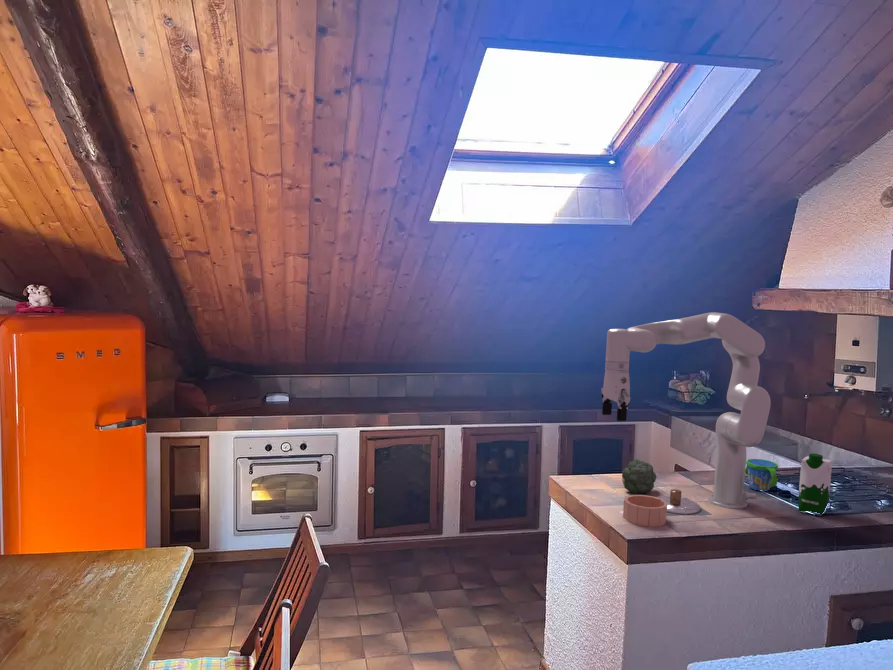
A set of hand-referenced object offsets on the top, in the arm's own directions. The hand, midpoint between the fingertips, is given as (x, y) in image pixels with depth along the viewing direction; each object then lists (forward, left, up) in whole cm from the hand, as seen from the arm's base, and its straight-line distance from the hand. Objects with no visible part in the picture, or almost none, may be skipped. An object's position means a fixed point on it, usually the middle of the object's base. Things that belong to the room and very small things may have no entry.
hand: (613, 417), depth 232 cm
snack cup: (-65, -15, -30) cm, 74 cm away
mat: (-22, +3, -30) cm, 37 cm away
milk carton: (-68, +10, -30) cm, 75 cm away
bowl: (-6, +14, -30) cm, 34 cm away
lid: (-22, +3, -30) cm, 37 cm away
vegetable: (-16, -15, -30) cm, 38 cm away
